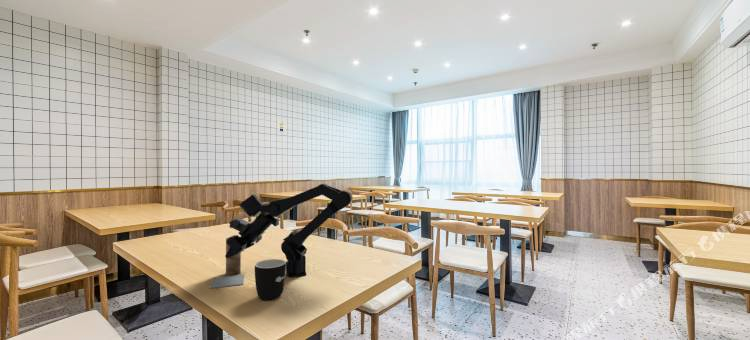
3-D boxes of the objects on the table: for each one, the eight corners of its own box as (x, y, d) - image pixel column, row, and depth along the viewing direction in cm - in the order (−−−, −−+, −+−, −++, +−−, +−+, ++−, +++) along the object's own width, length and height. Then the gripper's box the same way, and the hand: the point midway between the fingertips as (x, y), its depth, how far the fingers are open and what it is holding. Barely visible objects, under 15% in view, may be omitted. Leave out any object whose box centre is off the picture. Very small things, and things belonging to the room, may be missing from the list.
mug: (276, 304, 88) (276, 268, 88) (248, 301, 89) (248, 266, 90) (295, 288, 99) (295, 257, 100) (269, 286, 101) (270, 255, 101)
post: (240, 270, 117) (241, 236, 117) (240, 274, 113) (240, 239, 113) (226, 271, 116) (226, 237, 116) (225, 275, 111) (225, 240, 111)
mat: (244, 275, 112) (244, 274, 112) (243, 284, 103) (243, 283, 103) (213, 278, 108) (213, 277, 108) (209, 288, 99) (209, 287, 99)
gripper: (254, 207, 124) (227, 234, 124) (231, 214, 105) (199, 246, 105) (273, 227, 123) (246, 254, 124) (254, 237, 105) (222, 269, 105)
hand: (229, 255), depth 114 cm, fingers closed on post, 5 cm apart
